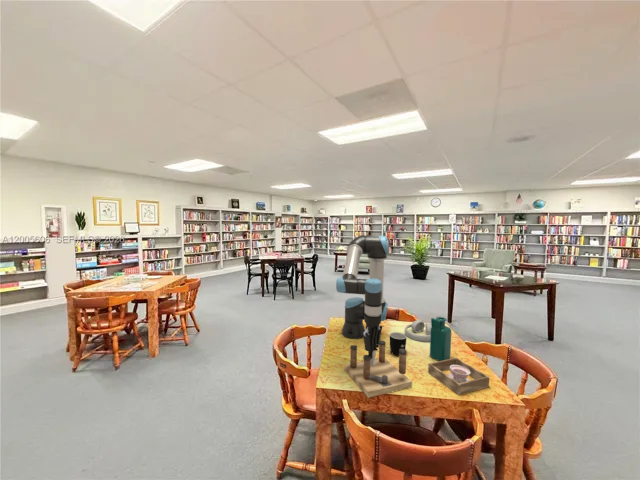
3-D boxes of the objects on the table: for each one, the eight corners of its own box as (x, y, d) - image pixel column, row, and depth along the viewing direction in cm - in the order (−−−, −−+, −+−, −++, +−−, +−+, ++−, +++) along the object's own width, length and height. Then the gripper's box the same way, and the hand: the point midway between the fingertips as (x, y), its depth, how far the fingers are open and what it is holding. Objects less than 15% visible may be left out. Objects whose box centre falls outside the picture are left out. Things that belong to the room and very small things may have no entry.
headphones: (412, 326, 181) (400, 339, 166) (412, 315, 180) (400, 328, 165) (440, 333, 169) (430, 348, 154) (440, 322, 168) (430, 336, 153)
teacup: (479, 385, 116) (480, 372, 115) (465, 394, 109) (465, 380, 109) (453, 372, 126) (454, 360, 125) (438, 380, 119) (439, 367, 119)
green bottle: (437, 352, 145) (438, 313, 144) (451, 358, 138) (453, 318, 137) (426, 357, 140) (428, 317, 138) (441, 364, 133) (443, 322, 131)
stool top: (345, 369, 127) (345, 344, 126) (383, 361, 134) (384, 338, 133) (367, 397, 106) (368, 368, 105) (411, 387, 113) (412, 359, 113)
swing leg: (362, 378, 115) (362, 357, 114) (364, 374, 118) (364, 354, 117) (386, 384, 110) (387, 363, 110) (388, 380, 113) (388, 359, 112)
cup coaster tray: (428, 372, 125) (428, 363, 125) (455, 366, 131) (456, 357, 131) (458, 395, 108) (459, 384, 108) (488, 386, 114) (489, 377, 114)
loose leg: (396, 370, 116) (397, 349, 115) (402, 369, 117) (403, 348, 116) (401, 374, 113) (402, 352, 112) (407, 373, 114) (408, 351, 113)
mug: (400, 359, 137) (401, 340, 137) (386, 353, 143) (386, 335, 143) (411, 351, 146) (412, 334, 145) (396, 346, 152) (397, 329, 151)
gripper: (374, 308, 124) (373, 356, 125) (357, 315, 115) (356, 366, 116) (387, 312, 118) (386, 362, 120) (371, 319, 109) (370, 373, 111)
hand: (371, 364), depth 118 cm, fingers closed
